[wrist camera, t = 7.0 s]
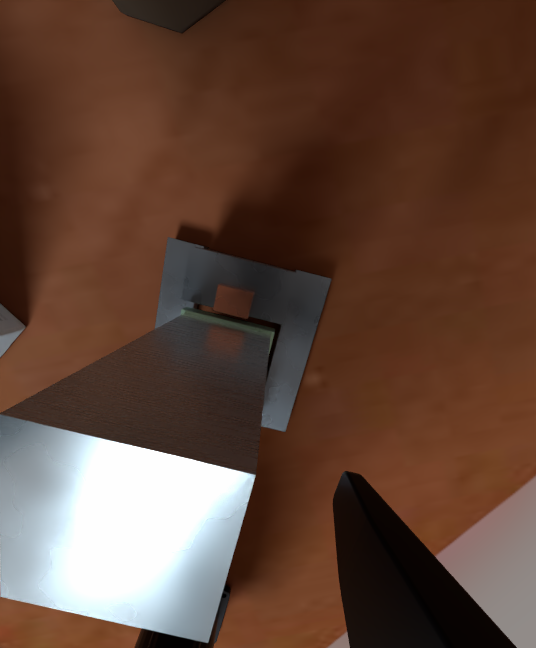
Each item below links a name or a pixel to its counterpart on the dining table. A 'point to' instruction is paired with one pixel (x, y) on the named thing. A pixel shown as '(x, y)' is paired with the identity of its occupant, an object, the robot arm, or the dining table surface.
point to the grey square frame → (249, 309)
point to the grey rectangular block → (136, 477)
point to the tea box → (8, 329)
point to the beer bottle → (168, 11)
